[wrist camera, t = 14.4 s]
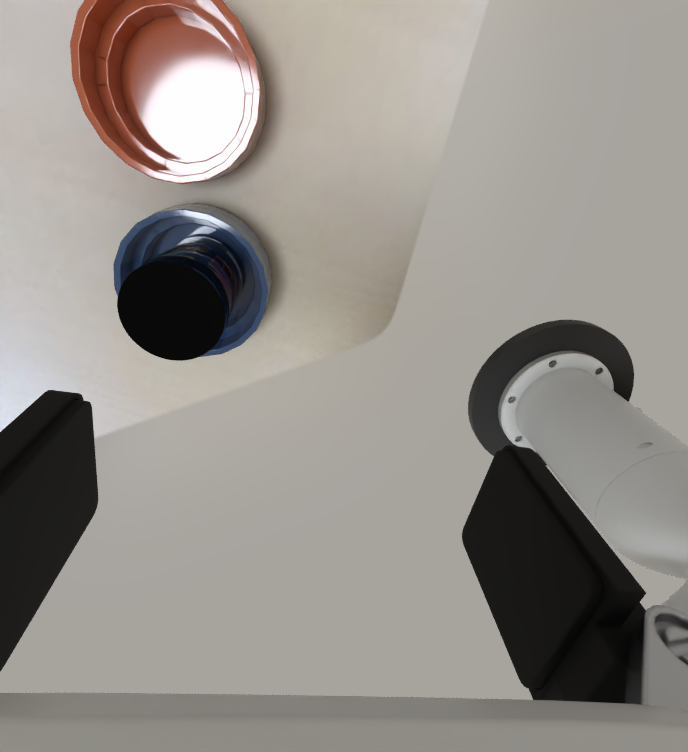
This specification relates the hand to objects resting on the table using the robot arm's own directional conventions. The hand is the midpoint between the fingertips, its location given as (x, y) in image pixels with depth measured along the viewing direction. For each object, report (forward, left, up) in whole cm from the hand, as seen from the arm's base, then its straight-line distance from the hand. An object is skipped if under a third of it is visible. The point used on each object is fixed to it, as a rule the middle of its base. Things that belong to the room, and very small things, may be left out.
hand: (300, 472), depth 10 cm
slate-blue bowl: (+8, +4, -30) cm, 31 cm away
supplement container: (+8, +4, -30) cm, 31 cm away
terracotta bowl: (+10, -9, -30) cm, 33 cm away
